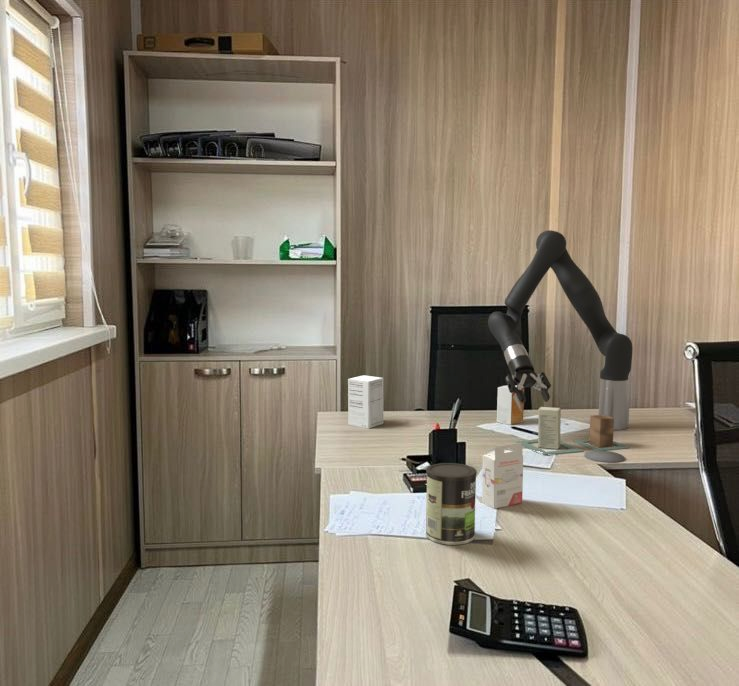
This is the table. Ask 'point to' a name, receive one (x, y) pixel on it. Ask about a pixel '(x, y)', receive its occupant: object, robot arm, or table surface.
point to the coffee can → (450, 503)
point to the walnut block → (601, 431)
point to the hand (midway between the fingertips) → (535, 401)
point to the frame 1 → (571, 450)
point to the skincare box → (549, 427)
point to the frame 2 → (618, 446)
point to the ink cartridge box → (503, 476)
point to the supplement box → (365, 401)
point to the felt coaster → (604, 456)
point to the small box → (509, 406)
